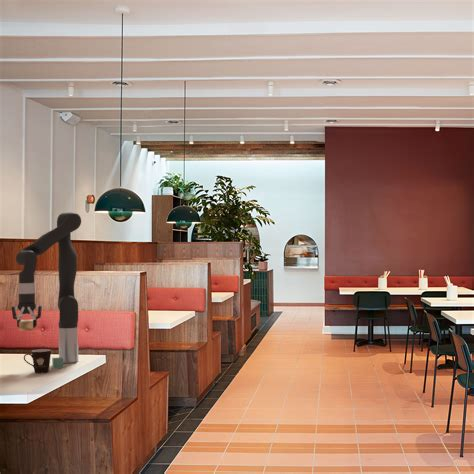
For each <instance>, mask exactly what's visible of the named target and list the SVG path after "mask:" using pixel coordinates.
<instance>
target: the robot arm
mask: <svg viewBox="0 0 474 474" xmlns="http://www.w3.org/2000/svg"><path fill="white" fill-rule="evenodd" d="M81 225H82V218H81V216H80V215H79V213H77V212H61V213H60V214H59V215H58V217H57V219H56V227H55V228H54V229H53V228H52V230H51V229H50V231H47V232H45V233H44V234H42V235H41V236H39V237H38V238H37V239H36V240H35V241H34V242H33V243H31V244H29V245H27V246H26V247H24V248H22V249H20V250H19V251H18V252H17V254H16V255H15V261H16V263H17V264H18V265H20V266H23V269H22V270H21V271H20V272H19V273H18V291H17V293H18V304H17V305H16V306H15V305H13V306H12V307H11V312H12V319H13V320H16V324H17V326H16V327H17V328H19V322H20V321H21V320H22V316H23V315H26V314H27V315H31V317H32V320H33V328H34V329H36V327H37V325H38V319H41V317H42V309H43V306H42V305H37V303H36V288H35V287H36V286H35V273H36V269H37V265H38V256H41V255H43V254H44V253H46V252H47V251H48V250H49V249H51V248H52V247H53V246H54V245H55V244H56V243H57V244H58V245H57V246H58V260H57V261H58V262H57V263H58V264H57V266H58V268H57V270H58V282H59V283H58V284H59V288H58V298H57V308H58V310H59V320H58V358H59V357H62V358H63V364H69V363H70V364H71V363H78V361H79V340H78V339H79V338H78V325H79V324H78V322H79V302H78V300H77V299H76V298H75V297H76V296H75V281H76V278H77V277H76V276H77V270H78V255H77V253H76V250H75V248H74V246H73V243H72V239H71V237H72V236H71V233H73V232H74V231H77V230H78V229H79V228H81V227H80V226H81ZM35 309H36V310H37V315H36V313H35V311H34V310H35ZM17 310H19V311H20V312H19V313H18V316H17Z"/></svg>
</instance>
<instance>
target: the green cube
mask: <svg viewBox="0 0 474 474" xmlns="http://www.w3.org/2000/svg"><path fill="white" fill-rule="evenodd" d="M51 366H52V369H63V368H64V363H63V358H62V357H59V356H58V357H52V365H51Z"/></svg>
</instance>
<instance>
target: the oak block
mask: <svg viewBox="0 0 474 474" xmlns="http://www.w3.org/2000/svg"><path fill="white" fill-rule="evenodd" d="M20 320H21V321H20V322H19V327H18V331H19V332H21V331H22V332H23V331H24V332H26V331H27V332H28V331H34V329H35V328H33V320H34V319H20Z"/></svg>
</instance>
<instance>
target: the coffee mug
mask: <svg viewBox="0 0 474 474" xmlns="http://www.w3.org/2000/svg"><path fill="white" fill-rule="evenodd" d="M51 354H52V349H50V348H48V349H47V348H42V349H41V348H40V349H33V350H31V353H25V354H24V356H23V360H24V362H25V363H27V365H30V366H32V367H33V370H34V374H48V373H49V372H50V364H51V356H52V355H51ZM26 356H30V357H31V359H32V362H33V364H32V363H30V362H29V361H27V359H26Z"/></svg>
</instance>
